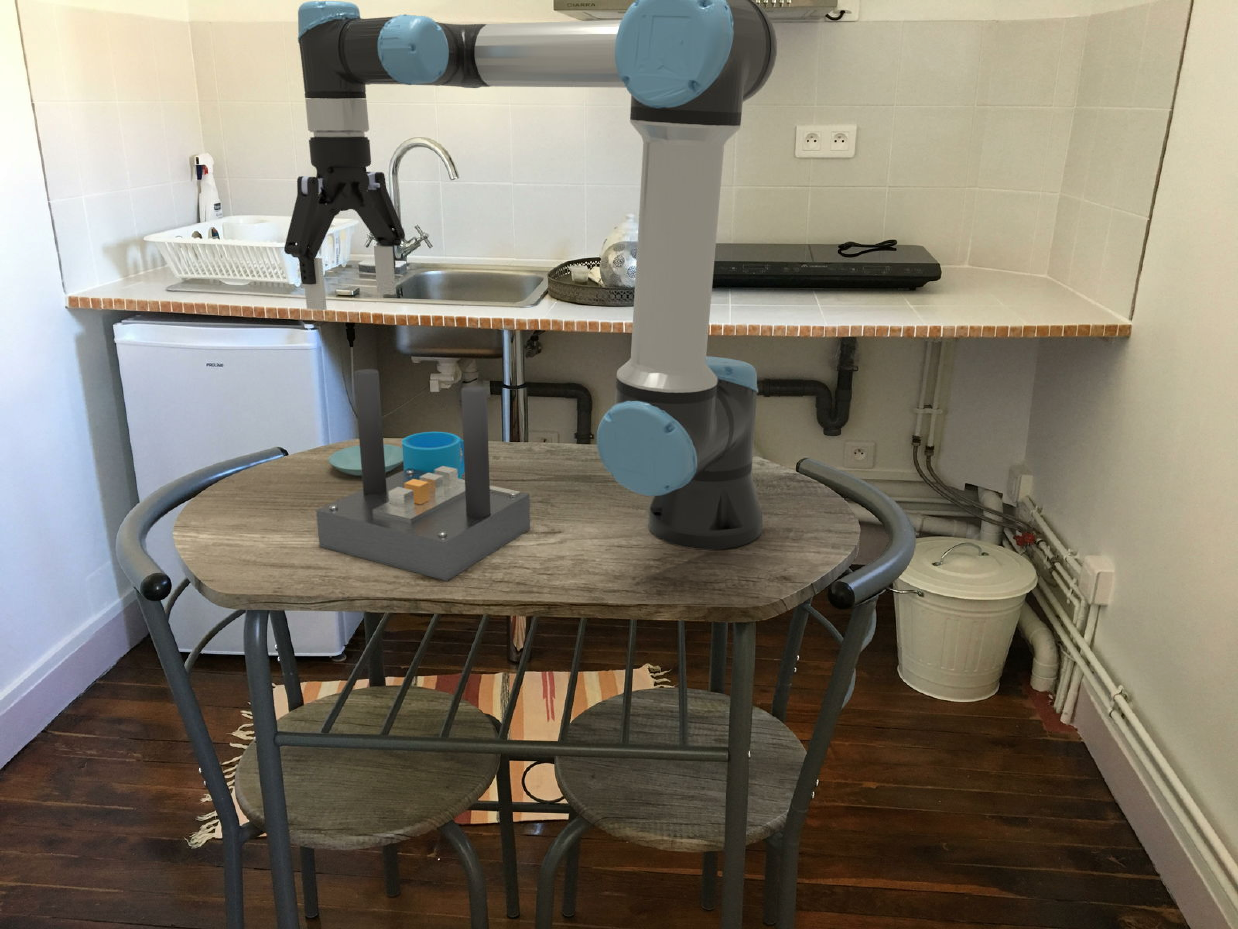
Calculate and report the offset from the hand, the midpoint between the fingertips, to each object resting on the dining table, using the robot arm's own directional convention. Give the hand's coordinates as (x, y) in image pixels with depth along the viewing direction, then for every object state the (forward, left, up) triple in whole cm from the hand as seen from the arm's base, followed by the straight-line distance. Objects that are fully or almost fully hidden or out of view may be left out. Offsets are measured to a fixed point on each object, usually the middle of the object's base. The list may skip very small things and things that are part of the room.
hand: (353, 301), depth 136 cm
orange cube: (-17, +9, -22) cm, 29 cm away
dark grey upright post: (-9, +8, -23) cm, 26 cm away
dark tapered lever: (-25, +8, -23) cm, 35 cm away
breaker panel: (-17, +8, -28) cm, 34 cm away
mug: (-8, -7, -28) cm, 30 cm away
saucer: (+8, -9, -28) cm, 31 cm away
